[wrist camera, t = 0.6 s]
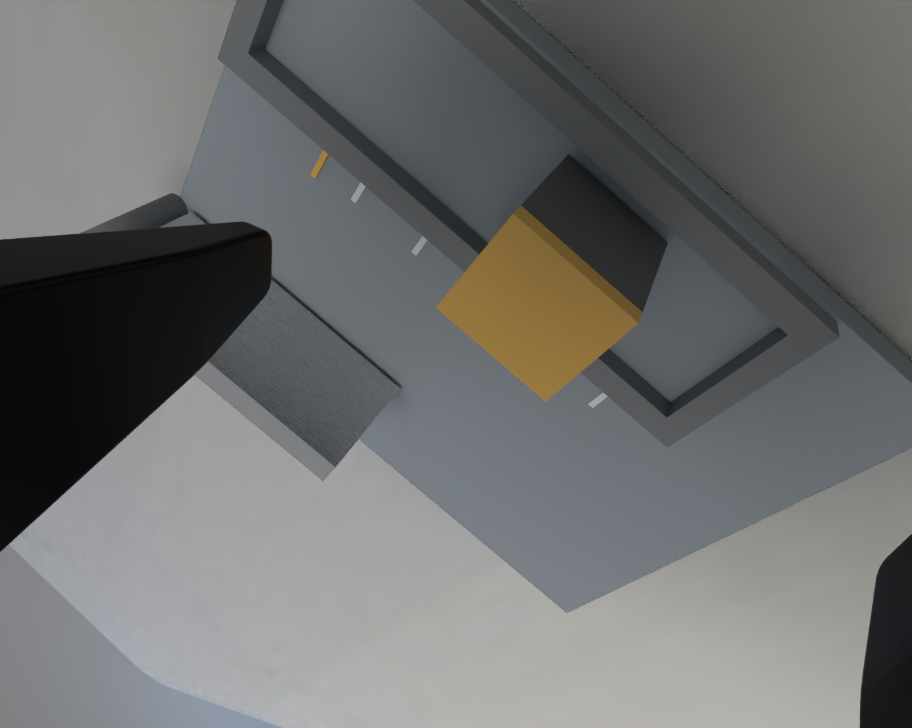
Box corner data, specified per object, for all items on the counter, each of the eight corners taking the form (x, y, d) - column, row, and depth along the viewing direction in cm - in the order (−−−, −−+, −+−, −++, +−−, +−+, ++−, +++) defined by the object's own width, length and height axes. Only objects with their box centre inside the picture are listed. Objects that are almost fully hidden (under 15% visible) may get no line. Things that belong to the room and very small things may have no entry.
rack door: (400, 388, 24) (335, 467, 20) (373, 418, 25) (309, 496, 22) (191, 211, 23) (88, 262, 20) (176, 252, 25) (77, 306, 21)
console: (947, 393, 18) (1006, 565, 13) (575, 585, 28) (533, 720, 23) (321, -173, 17) (133, -210, 12) (172, 246, 27) (40, 316, 22)
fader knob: (667, 242, 17) (638, 323, 14) (588, 315, 19) (545, 401, 16) (568, 153, 17) (513, 213, 13) (499, 237, 19) (435, 307, 15)
